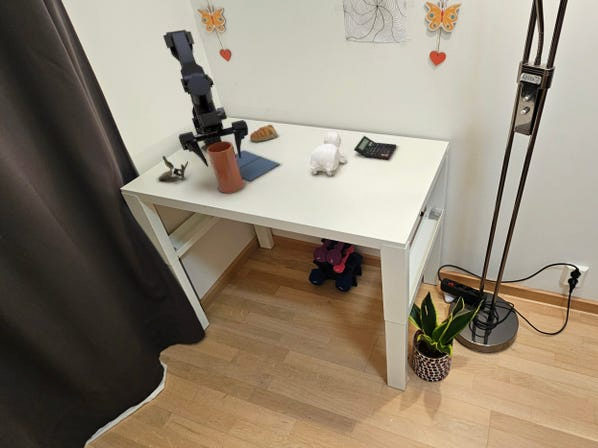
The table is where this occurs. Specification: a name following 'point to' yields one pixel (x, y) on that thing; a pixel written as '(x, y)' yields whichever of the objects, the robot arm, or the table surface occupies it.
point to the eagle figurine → (172, 170)
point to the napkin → (253, 165)
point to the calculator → (375, 149)
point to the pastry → (263, 133)
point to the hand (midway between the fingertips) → (224, 162)
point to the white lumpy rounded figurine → (327, 154)
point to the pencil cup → (225, 166)
